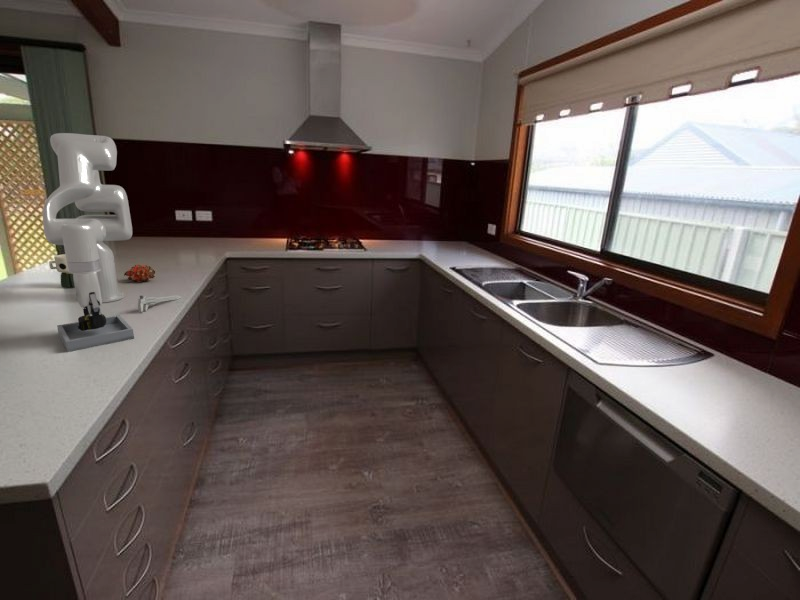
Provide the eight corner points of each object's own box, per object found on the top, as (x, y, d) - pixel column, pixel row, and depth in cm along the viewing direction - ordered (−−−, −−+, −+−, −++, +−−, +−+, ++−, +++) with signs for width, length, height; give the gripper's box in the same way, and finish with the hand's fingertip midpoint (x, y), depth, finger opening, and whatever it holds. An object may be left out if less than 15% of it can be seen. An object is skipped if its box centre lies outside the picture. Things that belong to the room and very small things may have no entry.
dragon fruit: (158, 284, 187) (128, 289, 183) (158, 270, 191) (128, 275, 188) (152, 272, 180) (121, 277, 176) (151, 258, 184) (121, 262, 181)
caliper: (141, 314, 147) (139, 296, 145) (139, 313, 147) (136, 296, 145) (182, 298, 166) (180, 282, 165) (179, 297, 167) (178, 282, 165)
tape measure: (79, 326, 126) (77, 314, 125) (106, 322, 130) (104, 311, 128) (79, 333, 120) (76, 321, 119) (107, 329, 124) (105, 318, 123)
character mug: (54, 290, 166) (48, 258, 162) (53, 286, 171) (47, 255, 168) (88, 287, 173) (82, 256, 169) (86, 283, 178) (81, 253, 174)
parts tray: (59, 334, 126) (57, 325, 125) (120, 323, 137) (119, 314, 136) (67, 352, 115) (65, 341, 114) (134, 338, 126) (132, 329, 125)
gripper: (63, 261, 123) (73, 318, 128) (73, 274, 111) (84, 335, 117) (93, 259, 128) (102, 313, 133) (106, 270, 116) (116, 329, 122)
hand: (94, 323), depth 125 cm, fingers closed on tape measure, 7 cm apart
